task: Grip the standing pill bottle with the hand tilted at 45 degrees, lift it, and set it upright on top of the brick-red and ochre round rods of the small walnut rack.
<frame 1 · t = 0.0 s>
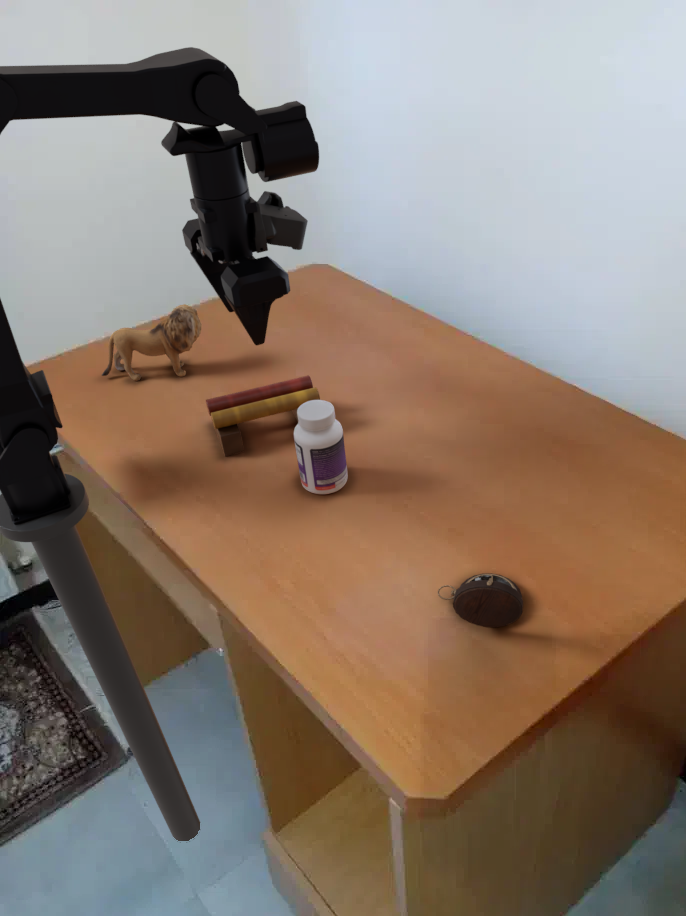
hand: (246, 327, 92), 13 cm above the table, tool pointing down, fingers open, 9 cm apart
lion figurine: (161, 371, 110), on the table
rod rack: (267, 428, 98), on the table
brown coin purse: (478, 609, 75), on the table
pill bottle: (324, 481, 90), on the table
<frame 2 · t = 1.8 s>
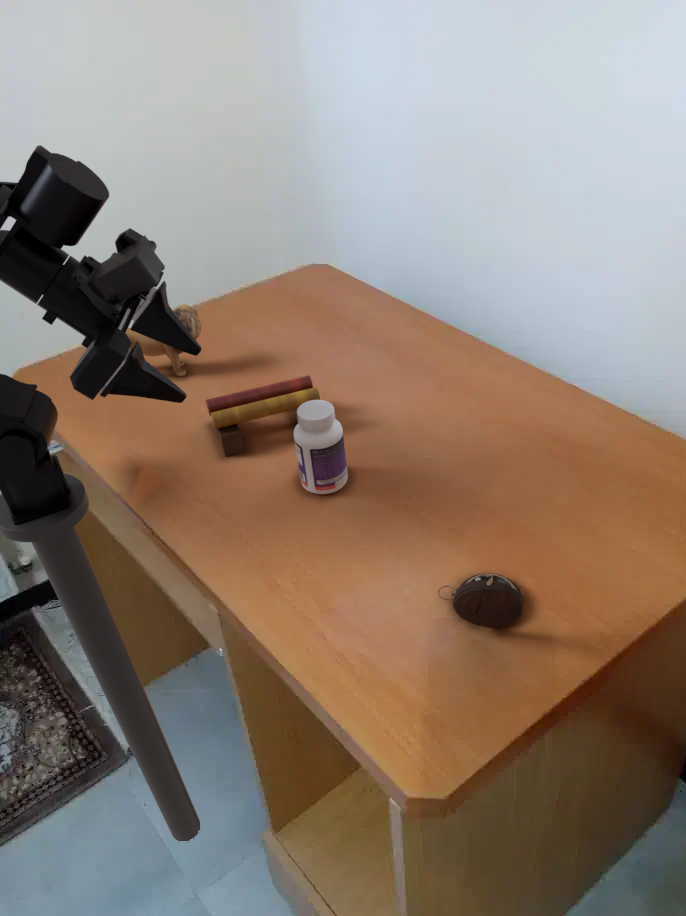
hand: (192, 374, 83), 14 cm above the table, tool tilted 45°, fingers open, 9 cm apart
nothing on the table moved.
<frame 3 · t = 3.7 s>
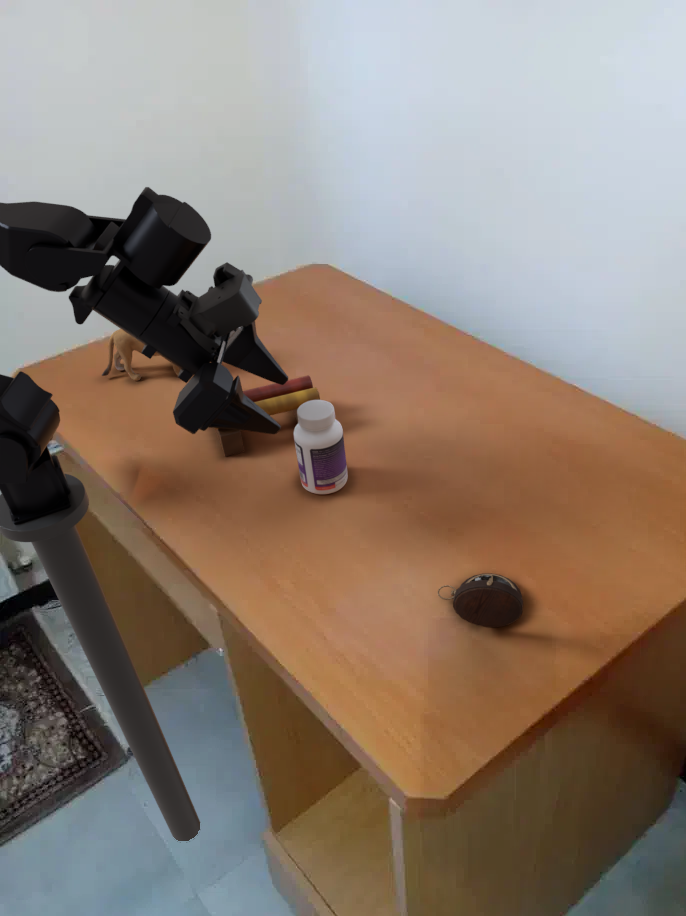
hand: (282, 405, 83), 10 cm above the table, tool tilted 45°, fingers open, 9 cm apart
nothing on the table moved.
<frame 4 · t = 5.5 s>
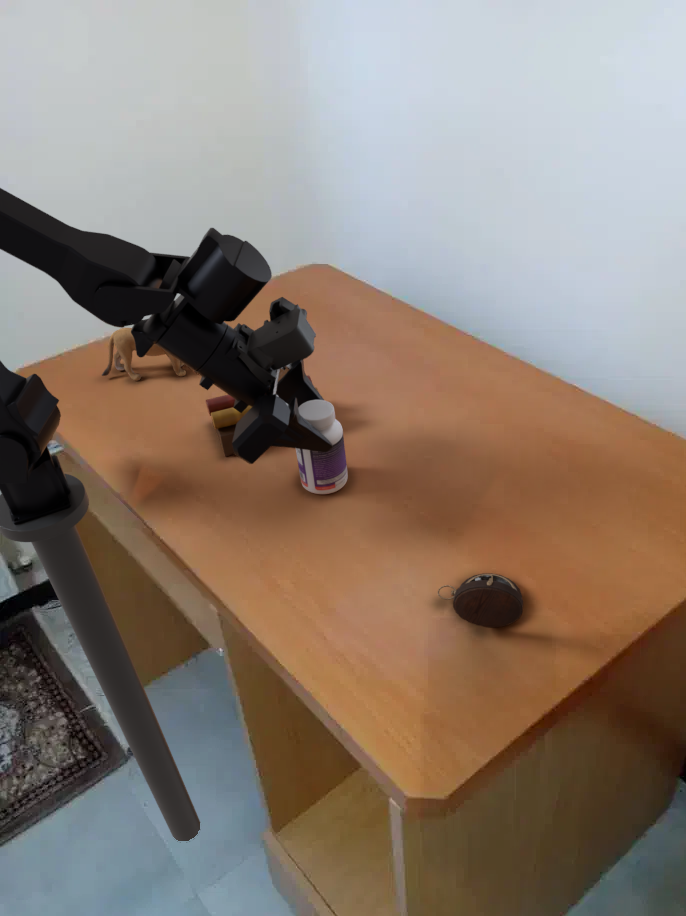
hand: (331, 433, 86), 7 cm above the table, tool tilted 45°, fingers closed on pill bottle, 5 cm apart
pill bottle: (324, 481, 90), on the table, touching gripper
everything else where it was.
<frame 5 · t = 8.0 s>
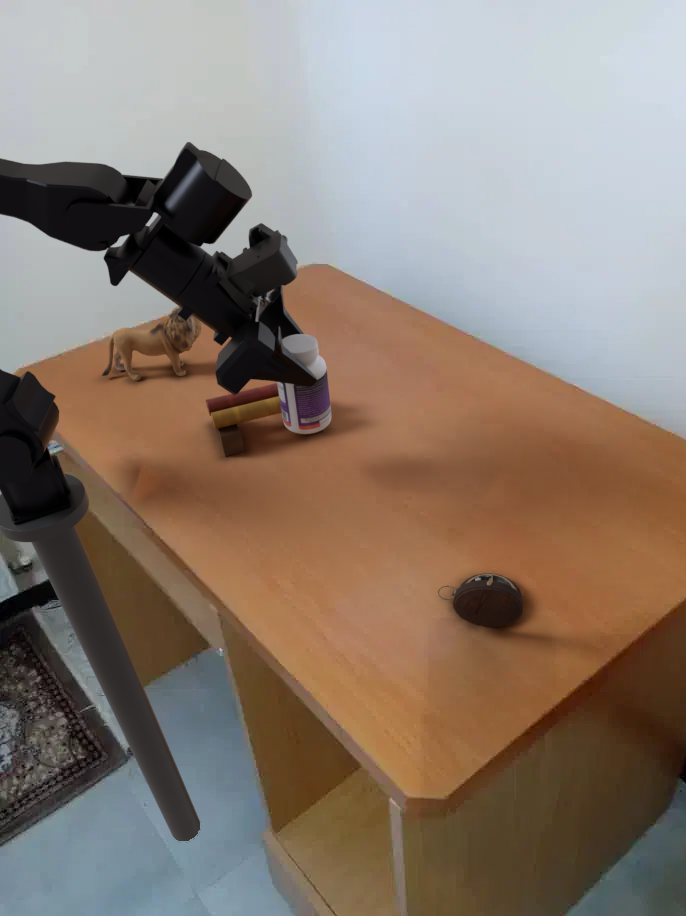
hand: (314, 368, 83), 13 cm above the table, tool tilted 45°, fingers closed on pill bottle, 5 cm apart
pill bottle: (307, 422, 88), point 6 cm above the table, touching gripper
everything else where it was.
when the fingers open (12 cm above the table, at t = 10.8 s): pill bottle stays where it is, resting on rod rack.
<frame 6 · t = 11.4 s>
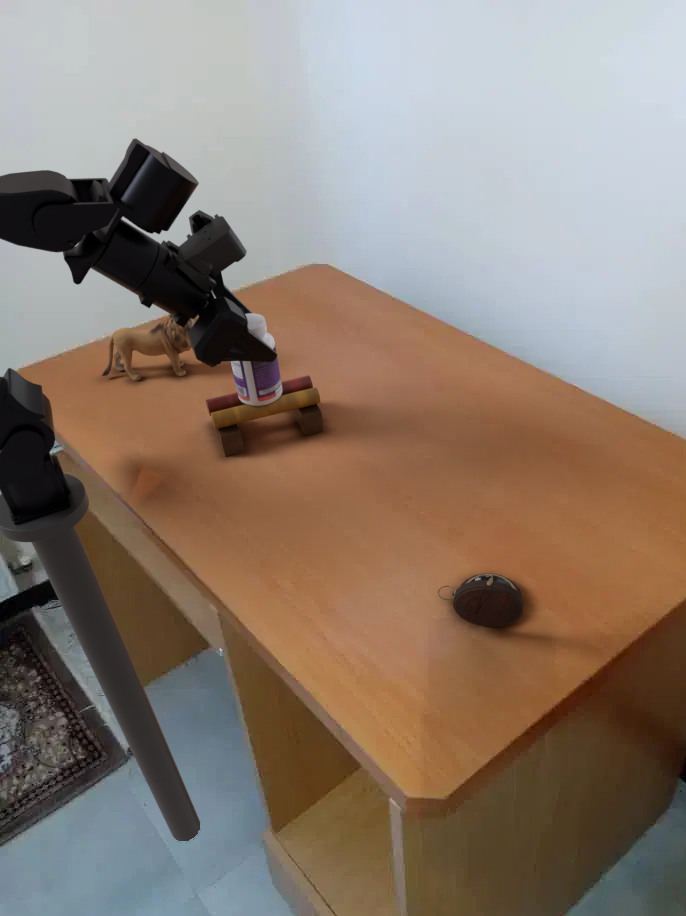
hand: (264, 339, 91), 12 cm above the table, tool tilted 45°, fingers open, 9 cm apart
pill bottle: (260, 396, 95), point 5 cm above the table, touching rod rack
everything else where it was.
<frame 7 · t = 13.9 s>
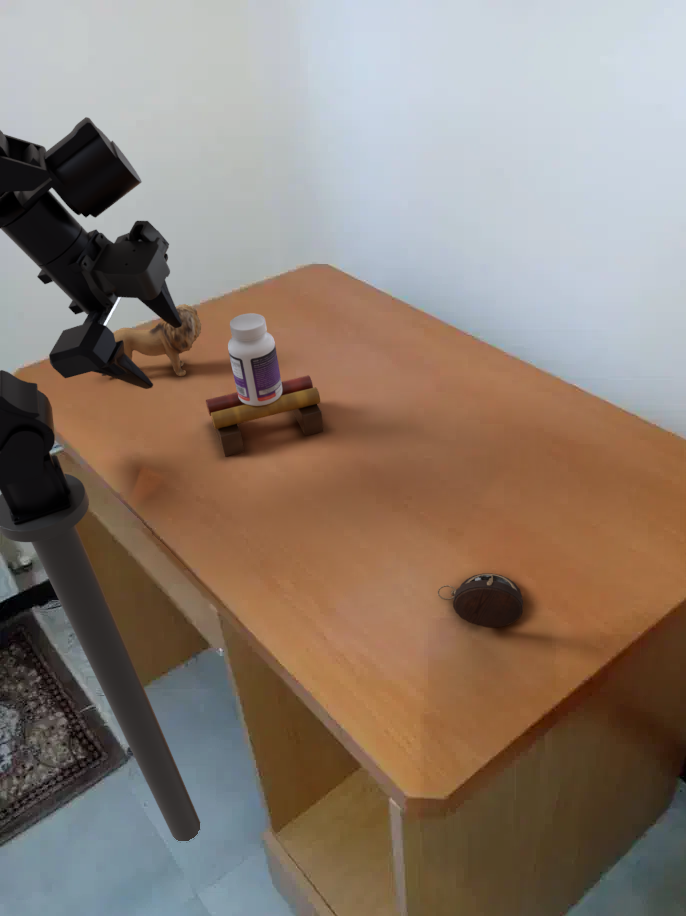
hand: (164, 356, 87), 13 cm above the table, tool tilted 25°, fingers open, 9 cm apart
nothing on the table moved.
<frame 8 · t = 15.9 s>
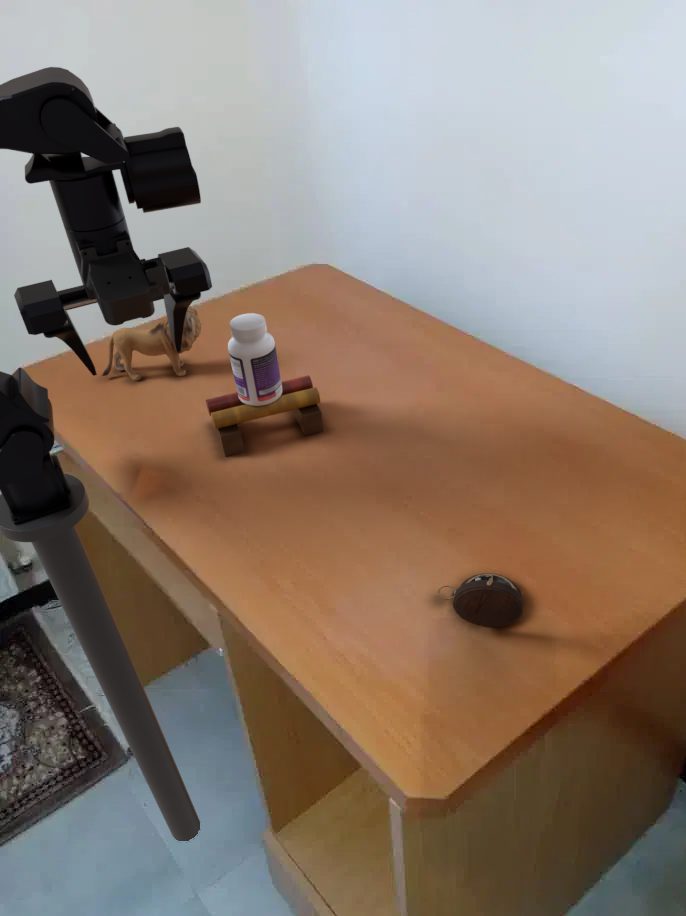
hand: (136, 362, 86), 13 cm above the table, tool pointing down, fingers open, 9 cm apart
nothing on the table moved.
at the end: pill bottle 0.1 cm off-centre on the rod rack, point 4.8 cm above the rod rack's base; pill bottle tilted 0°; the gripper is holding nothing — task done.
